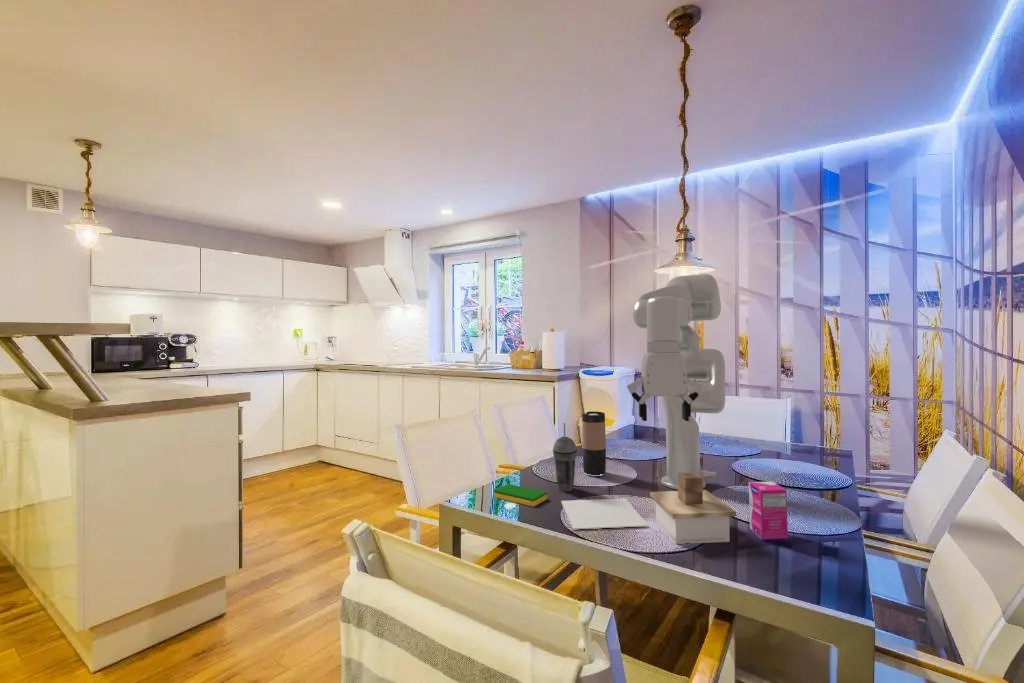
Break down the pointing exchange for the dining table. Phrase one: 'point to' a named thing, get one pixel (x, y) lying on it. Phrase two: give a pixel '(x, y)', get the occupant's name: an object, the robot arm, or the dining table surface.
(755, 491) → the supplement box
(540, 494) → the dish sponge
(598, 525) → the mat
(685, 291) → the robot arm
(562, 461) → the beverage cup
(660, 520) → the white open box
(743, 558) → the dining table surface
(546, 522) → the dining table surface
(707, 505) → the lid
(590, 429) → the travel mug
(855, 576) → the dining table surface
